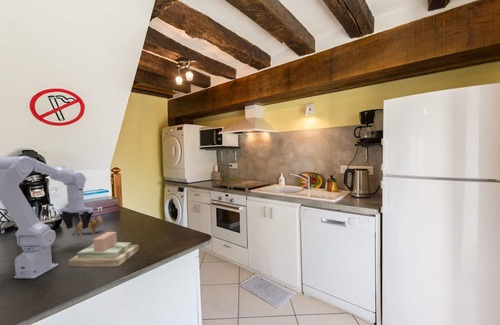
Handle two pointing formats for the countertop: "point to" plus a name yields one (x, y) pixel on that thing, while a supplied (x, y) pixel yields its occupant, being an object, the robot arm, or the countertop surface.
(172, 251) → the countertop surface
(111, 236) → the terracotta brick
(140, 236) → the countertop surface
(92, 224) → the lion figurine
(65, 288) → the countertop surface
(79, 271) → the countertop surface
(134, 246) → the tower base
